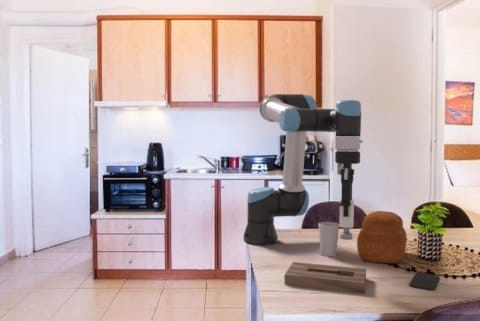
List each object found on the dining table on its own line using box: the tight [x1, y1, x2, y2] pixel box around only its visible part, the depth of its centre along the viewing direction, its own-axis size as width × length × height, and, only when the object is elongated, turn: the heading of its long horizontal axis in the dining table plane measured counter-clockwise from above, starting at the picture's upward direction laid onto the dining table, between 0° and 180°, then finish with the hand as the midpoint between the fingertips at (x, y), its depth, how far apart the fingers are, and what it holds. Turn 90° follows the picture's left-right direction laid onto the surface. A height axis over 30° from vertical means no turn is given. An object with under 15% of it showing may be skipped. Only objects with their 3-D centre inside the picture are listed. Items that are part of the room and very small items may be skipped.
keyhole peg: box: [338, 199, 355, 241], centre depth 133 cm, size 4×4×12 cm
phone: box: [408, 272, 440, 292], centre depth 136 cm, size 7×1×15 cm
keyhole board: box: [284, 261, 367, 294], centre depth 136 cm, size 14×24×3 cm, turn 72°
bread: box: [356, 210, 408, 264], centre depth 165 cm, size 18×22×17 cm
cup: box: [317, 221, 340, 257], centre depth 167 cm, size 8×8×12 cm
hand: (346, 225), depth 133 cm, fingers closed on keyhole peg, 4 cm apart
